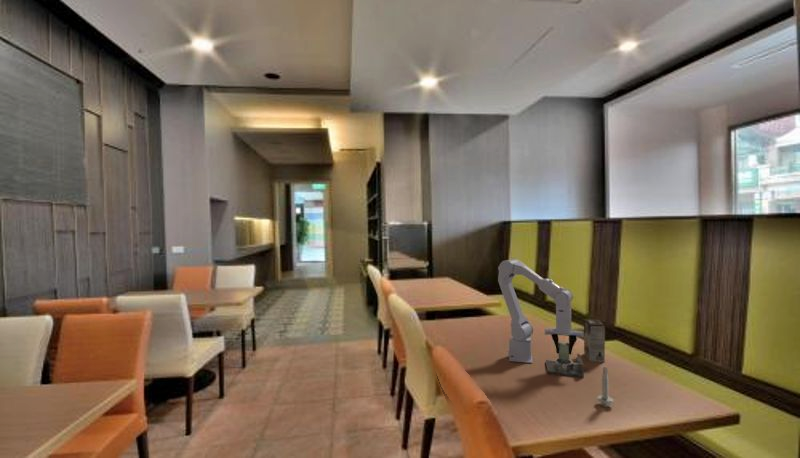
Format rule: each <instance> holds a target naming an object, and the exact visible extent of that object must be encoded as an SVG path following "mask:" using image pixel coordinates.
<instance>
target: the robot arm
mask: <svg viewBox="0 0 800 458" xmlns="http://www.w3.org/2000/svg"><path fill="white" fill-rule="evenodd" d="M497 269H498V276H497V281H498V284H499V287H500V290H501V294H502V296H503V298H504V302H505V305H506V307H507V310H508V312H509V316H510V318H511V321H510V331H511V332H510V333H511V337H512V338H511V337H510V338H509V337H508V357H509V358H508V359H509V361H510V362H517V363H526V364H533V356H532V338H531V336H532V335H533V333H534V327H533V325H532V324H531V323H530V322H529V320H528V318H527V317H526V316H525V314H524V312H523V310H522V307H521V305H520V302H519V299H518V296H517V294H516V291H515V287H514V285H513V283H512V281H513V279H514V277H515V276H516V275H517V276H518V275H520V276H523V277H525V278H526V279H528V280H530V281H531V282H533V283H535V284H536V285H537V287H538V289H539V290H540V291H541V292H543V293H544V294H545V295H547V296H548V297H549V298H551V299H553V302H554V304H555V328H544V331H543V332H544V335H545V336H547V335H551V339H552V341H553V343H554V346H555V349H556V350H555V351H556V354H559V347H558V343H559V336H565V337H568V343H569V355H572V353H573V352H572V351H573V348H574V346H575V344H576V343H577V340H578V338H577V337H580V338H584V330H583V331H582V330H576V329H575V330H574V329H572V301H574V295H573V293H572V292H571V291H570V289H567V288H564V287H562V286H559V284H556V283H555V282H554V280H553V279H552V278H550V279H549V278H543V277H542V276H540V275H539V274H538V273H536V272H535V271H534V270H532V269H531V268H530V267H529V266H528V265H526V264H525V263H524V262H522V261H520V260H519V259H518V258H511V259H506V260H502V261H501V262H500V264H499V265H498V267H497Z"/></svg>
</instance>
